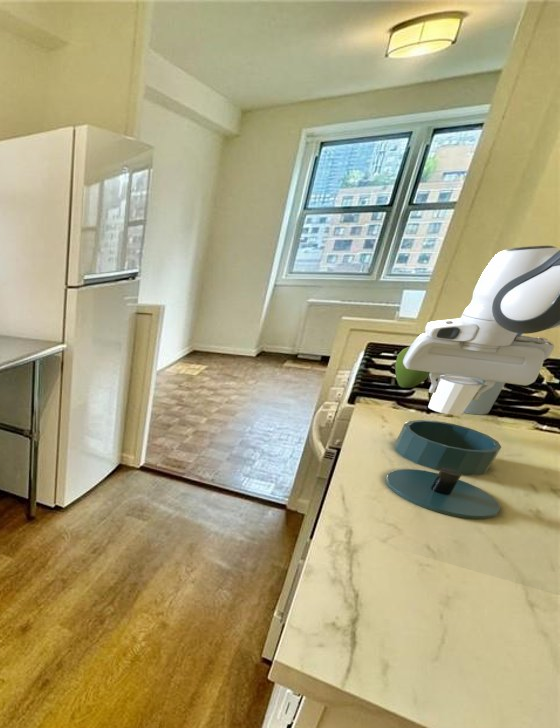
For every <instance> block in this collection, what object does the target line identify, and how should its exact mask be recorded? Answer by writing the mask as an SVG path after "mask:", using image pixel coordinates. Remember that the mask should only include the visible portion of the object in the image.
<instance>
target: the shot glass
mask: <svg viewBox="0 0 560 728" xmlns="http://www.w3.org/2000/svg"><path fill="white" fill-rule="evenodd" d="M436 383H437V386H438V387H437V390H436V392H435V393H432V395H431V397H430V400H429V403H428V406H427V407H428V409H429V410H432V411H434V412H437V413H441V414H446V415H452V416H460V415H463V414H464V413H463V412H464V410H465V409H466V407H467V406H468V404H469V403H470V402H471V400H472V399H473V397H474V396H475V394H476V393H477V391H478V390H479V389H480V387H481V386H482V383H481V382H480V381H478V380H475V379H472V378H468V377H461V376H454V375H447V374H441V375H440V377H439V378H437V380H436Z"/></svg>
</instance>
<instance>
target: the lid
mask: <svg viewBox="0 0 560 728" xmlns="http://www.w3.org/2000/svg"><path fill="white" fill-rule="evenodd" d="M461 477H462V475H461V473H460V472H458V471H456V470H453V469H449V468H442V469H441V470H440V471H438V473H437V472H433V471H428V470H421V469H412V468H411V469H410V468H409V469H407V468H406V469H405V468H402V469H395V470H392V471H390V472H388V474H387V475H386V477H385V483H386V485H387V487H388V488H389V489H390V490H391V491H392V492H393V493H395V494H396V495H397V496H400V497H401V498H402V499H404V500H406V501H408V502H410V503H413V504H415V505H416V506H419V507H422V508H425V509H427V510H430V511H433V512H435V513H439V514H443V515H447V516H451V517H457V518H461V519H463V518H464V519H469V520H470V519H472V520H486V519H491V518H494V517H496V516H497V515H498V514H499V512H500V511H501V506H500V503H499V502H498V501H497V499H496V498H495V497H493V496H492V495H491V494H489V493H488V492H486V491H484V490H482V489H481V488H479V487H478V486H475V485H473V484H472V483H471V484H470V483H468V482H466V481H463V480H461V479H460V478H461Z"/></svg>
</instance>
